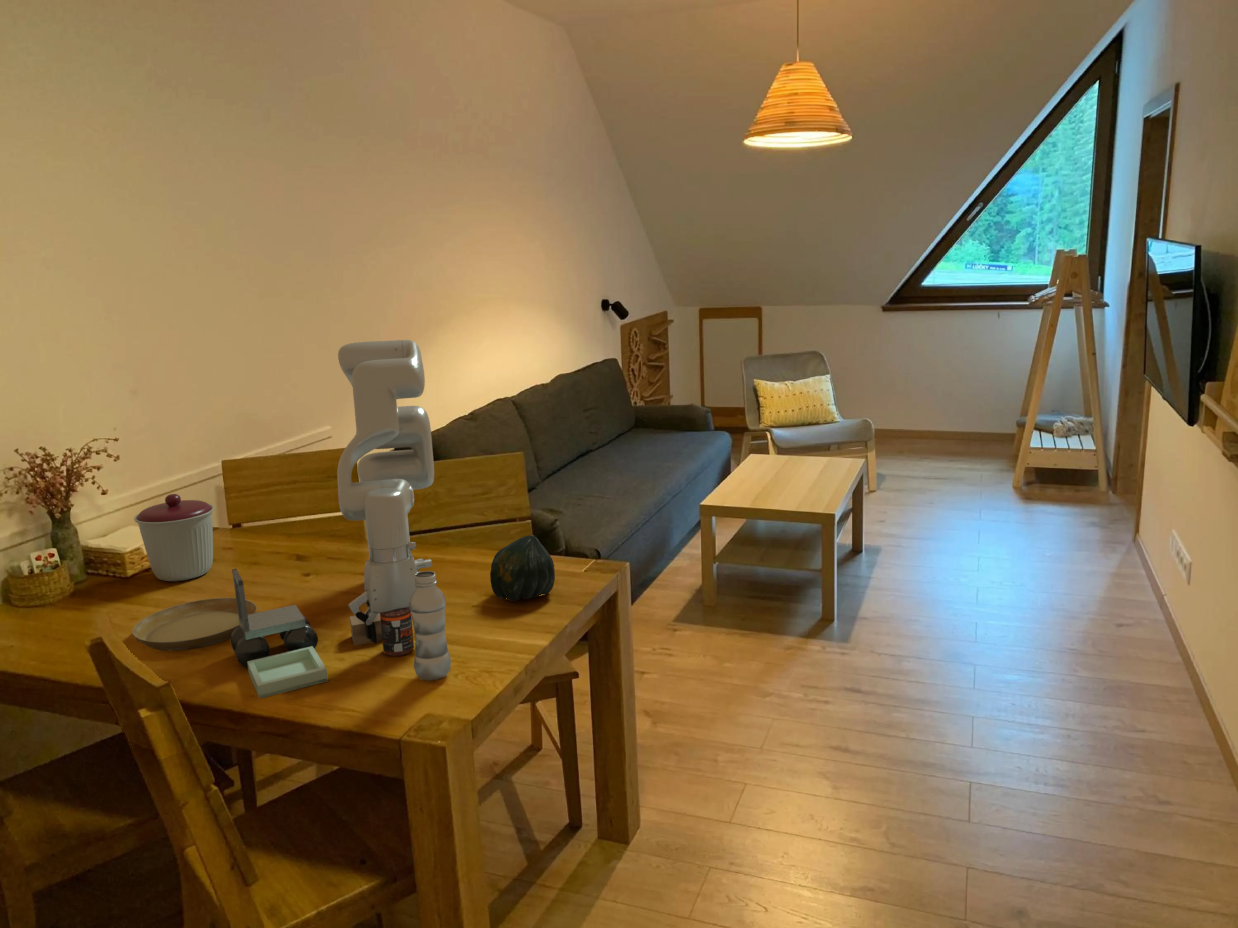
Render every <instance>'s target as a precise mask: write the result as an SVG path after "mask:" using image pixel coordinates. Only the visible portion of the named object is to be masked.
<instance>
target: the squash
mask: <svg viewBox="0 0 1238 928" xmlns="http://www.w3.org/2000/svg"><path fill="white" fill-rule="evenodd" d="M490 566H491V567H490V572H489V575H490V577H489V578H490V579H489V581H490V584H491V585H490V587H491V590H492V592H493V594H494V595H495V596H496V597H497V598H498V599H501V600H504V599H506V598H507V599H509V601H510V602H517V601H519V600H520V599H521V598H522V599H524V600H530V599H531V598H537V596H539V595H541V594H546V595H547V593H548V594H549V593H550V592H551V591H552V590H553V588H554V584H555V582H556V581H555V579H556V573H555V572H556V570H555V564H554V561H553V558H552V557H551V555H550V553H549V552H548V550H547V549H546V548H545V546H543V544H542V543H541V542H540V540H539V539H538V538H537V537H536V536H535V535H533V534H531V535H524V536H523V537H520V538H518V539H516V540H514V541H513V542H511V543H509V544H508V545H506V546H505V547H502V548H501V549H500V550H498V551H497V552H496V553H495V554H494V556H493V559H492V562H491V563H490Z"/></svg>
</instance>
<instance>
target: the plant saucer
mask: <svg viewBox="0 0 1238 928" xmlns="http://www.w3.org/2000/svg"><path fill="white" fill-rule="evenodd" d="M245 600H246V608H247V615H249V614H254V613H257V609H258V607H257V605H256V603H254V602H253V601H251V600H249V599H245ZM238 617H239V616H238V609H237V602H236V597H215V598H213V597H212V598H205V599H198V600H192V601H188V602H183V603H180V604H175V605H172V606H169V607H167V608H164V609H160V610H158V611H157V612H156V611H155V612H154V613H152V614H149V615H148V616H145V617H144V618H142V619H141V620H140V621H138V622H137V623H136V624H135V625H134V627H133V628H132V636H133V637H135V639H136V640H137V641H138V642H139V643H141V644H143V645H144V646H146V647H149V648H151V649H156V650H160V651H168V650H176V651H186V650H193V649H194V648H195V649H199V648H200V649H201V648H204V647H207V646H212V645H215V644H218V643H221V642H223V641H226V640H229V639H230V637H231V633H232V632H233V630H234V629H235V628H236V627H238V626H239V621H238Z"/></svg>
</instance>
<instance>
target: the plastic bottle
mask: <svg viewBox="0 0 1238 928" xmlns="http://www.w3.org/2000/svg"><path fill="white" fill-rule="evenodd" d="M414 578H415V582H414V583H415V586H416V587H417V588H416V589H415V591H414V593H413V594H412V596H411V598H410V602H409V607H410V612H411V618H412V626H413V630H414V631H413V632H414V637H415V638H414V639H415V640H414V641H415V642H414V651H415V652H414V653H415V654H414V658H413V659H414V660H413V669H414V672H415V674H416V676H417V677H418V678H419V679H420V680H422V681H436V680H440V679H443V678H445V677H446V676H447V675H448V674H449V672H450V671H451V665H452V660H451V655H450V652H449V650H448V649H449V648H448V643H447V637H446V636H447V635H446V610H447V609H446V608H447V599H446V596H445V594H444V593H443V591H441V589H440V588H439V587H438V586H437V583H438V582H437V577H436V572H435V571H432V570H425V571H419V573H416V574H415V575H414Z"/></svg>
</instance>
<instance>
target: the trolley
mask: <svg viewBox="0 0 1238 928" xmlns="http://www.w3.org/2000/svg"><path fill="white" fill-rule="evenodd" d="M231 574H232V578H233V579H232V580H233V585H234V592H235V598H236V602H237V609H238V616H239V617H238V621H239V626H238V627H236V628H235V629H234V630H233V632H232V633H231V637H230V638H229V643H230V646H231V648H232V650H233V651H234V654H235V658H236V660H237V662H238V663H239V664H240V665H241V666H242V667H244V668H246V669H248V664H247V661H251V660H256V659H260V658H264V657H268V656H271V647H270V645H269V643H268V641H267V639H266V638H265V636H269V635H274V634H278V636H279V637H280V639H281V640H282V641H283V643H284V646H285V648H286V650H287V652H290V651H294V650H298V649H302V648H307V647H311V646H313V648H314V649H316V648H317V645H318V642H319V641H318V640H319V637H318V634H317V633H316V631H315V629H314V628H313V627H312V626H311V623H310V621H309V620H308V618H306V616H305V615H304V614H303V613H302V612H301V611H300V609H299V608H298V607H297V605H296V604H294V605H293V604H292V605H288V606H284V607H283V606H282V607H279V608H275V609H270V610H269V609H268V610H264V611H259V612H256V613H254V614H249V615H247V608H246V600H247V599H246V594H245V587H244V581H243V580H244V579H242V576H241V575H240V573H239V571H238V569H237V568H233V569H232V570H231Z"/></svg>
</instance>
